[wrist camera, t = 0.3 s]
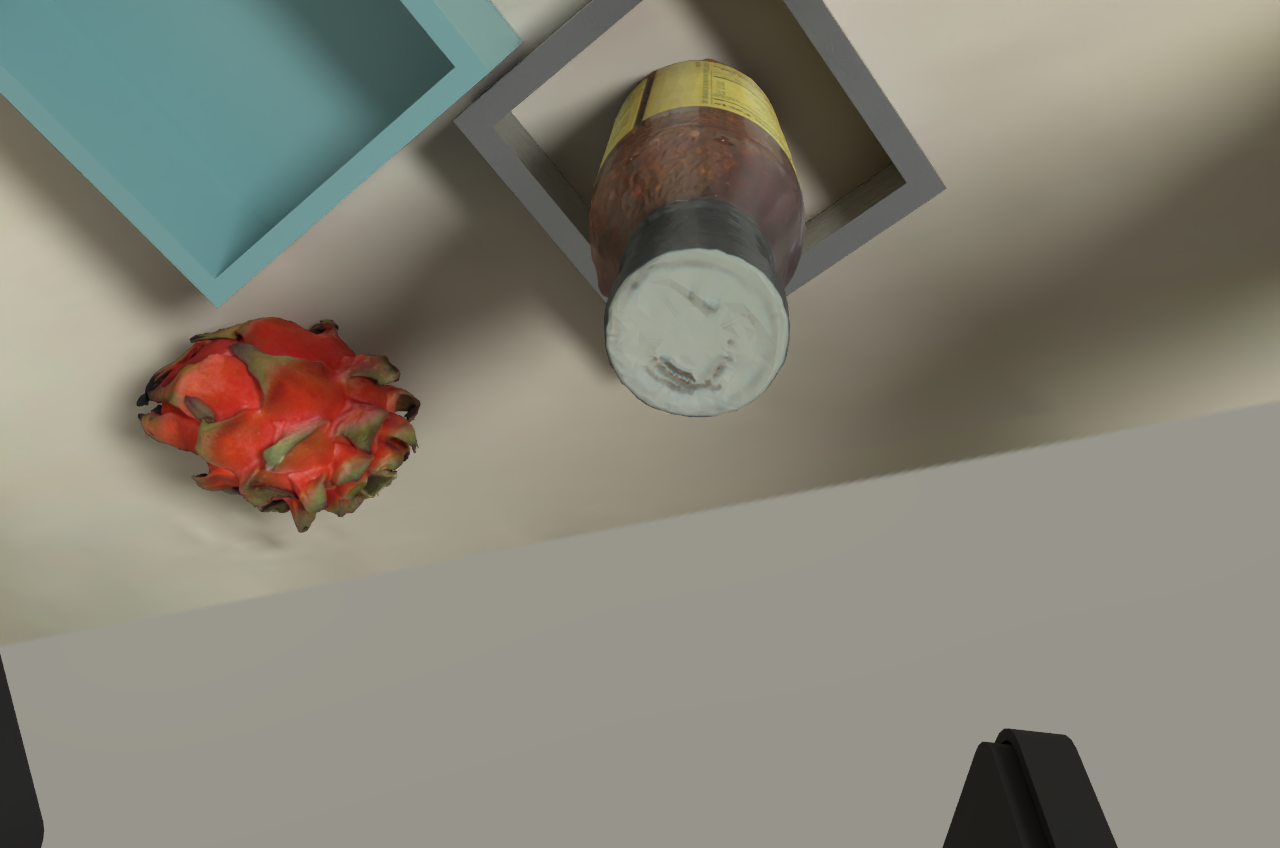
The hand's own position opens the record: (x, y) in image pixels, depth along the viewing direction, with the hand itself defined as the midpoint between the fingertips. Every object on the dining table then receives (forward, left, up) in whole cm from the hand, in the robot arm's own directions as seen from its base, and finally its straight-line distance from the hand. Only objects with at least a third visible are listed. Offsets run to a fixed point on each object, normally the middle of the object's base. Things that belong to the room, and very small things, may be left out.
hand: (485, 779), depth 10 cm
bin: (+10, -11, -33) cm, 36 cm away
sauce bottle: (0, +2, -33) cm, 33 cm away
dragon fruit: (+20, 0, -33) cm, 39 cm away
